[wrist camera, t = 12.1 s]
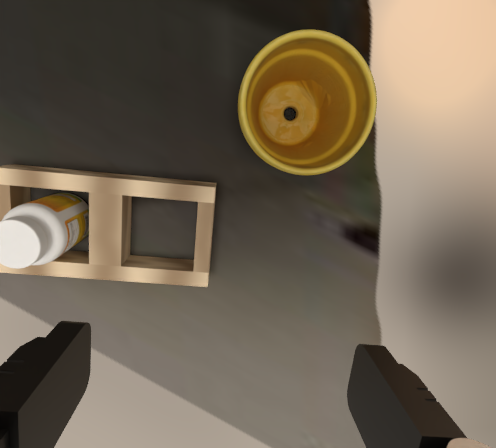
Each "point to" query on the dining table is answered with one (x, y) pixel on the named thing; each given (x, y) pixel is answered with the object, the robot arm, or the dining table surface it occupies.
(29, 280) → the dining table surface
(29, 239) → the supplement bottle
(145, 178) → the bottle rack
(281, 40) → the plant pot
